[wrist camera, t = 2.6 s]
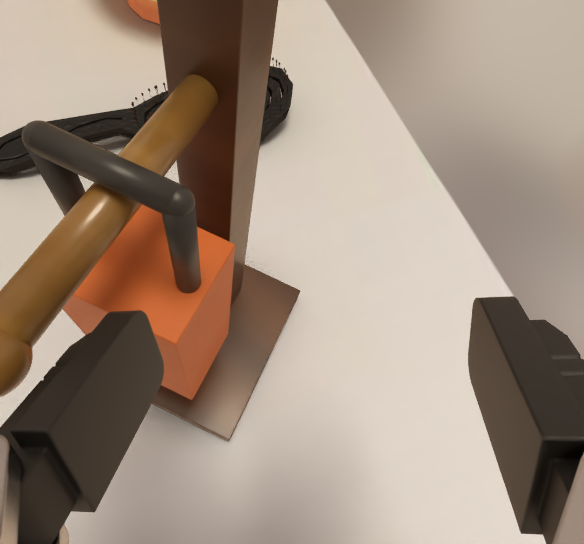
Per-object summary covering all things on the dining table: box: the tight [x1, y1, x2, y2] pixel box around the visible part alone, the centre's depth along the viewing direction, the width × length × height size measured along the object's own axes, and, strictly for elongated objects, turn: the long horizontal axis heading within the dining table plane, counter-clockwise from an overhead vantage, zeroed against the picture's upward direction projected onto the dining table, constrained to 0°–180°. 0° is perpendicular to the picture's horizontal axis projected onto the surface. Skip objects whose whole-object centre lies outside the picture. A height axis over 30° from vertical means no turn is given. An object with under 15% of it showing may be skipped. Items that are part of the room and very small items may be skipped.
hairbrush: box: [0, 58, 293, 176], centre depth 35 cm, size 8×4×25 cm
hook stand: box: [0, 0, 300, 441], centre depth 18 cm, size 14×10×25 cm
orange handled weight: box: [22, 121, 235, 400], centre depth 16 cm, size 4×5×15 cm
